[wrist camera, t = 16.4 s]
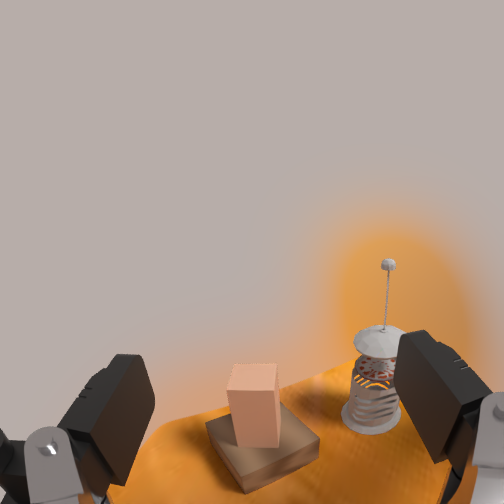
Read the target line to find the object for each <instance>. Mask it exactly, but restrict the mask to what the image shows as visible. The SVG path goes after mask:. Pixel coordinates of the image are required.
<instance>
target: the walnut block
mask: <svg viewBox="0 0 504 504" xmlns="http://www.w3.org/2000/svg"><path fill="white" fill-rule="evenodd" d="M280 414H281V426H280V438H279V448H249V447H238V444H237V440H236V435H235V430H234V426H233V421H232V416H231V413H230V414H228V415H225V416H222V417H219V418H217V419H214V420H211V421H208V422H205V424H206V428H207V431H208V435H209V438H210V442H211V444H212V446H213V447H214V449H215V450H216V452H217V453H218V455H219V457H220V458H221V460H222V461H223V463H224V464H225V466H226V467H227V469H228V470H229V472H230V473H231V475H232V476H233V478H234V479H235V480H236V482H237V483H238V485H239V486H240V488H241V489H242V490H243V492H244V493H245V495H246V494H248V493H250V492H253V491H255V490H257V489H259V488H262V487H264V486H266V485H268V484H270V483H272V482H274V481H276V480H278V479H280V478H282V477H284V476H286V475H288V474H290V473H292V472H294V471H296V470H298V469H300V468H301V467H303V466H305V465H307V464H309V463H310V462H312V461H314V460H316V459H317V458H318V454H319V442H320V438H319V437H318V436H317V435H316V434H315V433H314V432H312V431H311V430H310V429H309V428H308V427H307V426H306V425H305V424H304V423H302V422H301V421H300V420H299V419H298V418H297V417H296V416H295V415H294V414H293V413H292V412H291V411H289V410H288V409H287V408H286V407H285V406H284V405H283V404H282V403H281V402H280Z"/></svg>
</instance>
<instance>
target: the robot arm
mask: <svg viewBox="0 0 504 504" xmlns="http://www.w3.org/2000/svg"><path fill="white" fill-rule="evenodd" d="M393 380H394V387H395V390H396V392H397V394H398V396H399V398H400V400H401V402H402V403H403V405H404V407H405V409H406V411H407V412H408V414H409V416H410V418H411V420H412V422H413V424H414V425H415V427H416V429H417V431H418V433H419V435H420V437H421V439H422V441H423V442H424V444H425V446H426V448H427V450H428V452H429V454H430V456H431V458H432V460H433V462H434V464H436V463H439V462H441V461H444V460H446V459H449V461H450V463H451V465H450V467H449V468H448V471H447V474H446V477H445V481H444V484H443V487H442V490H441V493H440V496H439V498H438V501H437V504H504V392H496V393H493V392H492V391H491V390H490V389H489V388H488V387H487V386H486V384H485V383H484V382H483V381H482V380H481V379H480V378H479V377H478V375H477V374H476V373H475V372H474V371H473V370H472V369H471V368H470V367H468V365H467V364H466V362H465V361H464V360H461V357H460V356H459V355H458V354H457V353H456V352H455V351H454V350H453V349H452V348H451V347H449V346H447V345H445V344H443V343H441V342H436V341H435V340H434V339H433V338H432V337H431V336H430V335H429V333H428V332H426V331H425V330H420V331H415V332H410V333H405V334H402V335H401V337H400V339H399V345H398V351H397V358H396V363H395V369H394V376H393ZM154 407H155V396H154V392H153V389H152V386H151V383H150V380H149V377H148V374H147V370H146V368H145V364H144V361H143V359H142V357H141V356H140V355H128V354H117V355H116V356H115V357H114V358H113V360H112V361H111V362H110V364H109V365H108V367H107V368H103V369H102V370H100V371H99V372H98V373H96V374H95V375H94V376H92V377H91V379H90V380H89V381H88V383H87V384H86V385H85V389H83V390H82V391H81V393H80V394H79V398H76V400H75V401H74V402H73V404H72V405H71V407H70V408H69V410H68V411H67V413H66V414H65V415H64V417H63V418H62V420H61V421H60V423H59V424H58V426H57V427H44V428H41V429H38V430H36V431H35V432H33V433H32V434H31V435H30V436H29V437H28V438H27V440H26V441H16V440H8V438H7V437H6V436H5V434H4V433H3V431H2V430H1V429H0V486H1V487H2V488H3V489H4V490H5V491H6V494H5V496H4V498H3V500H2V502H1V504H114V503H113V500H112V498H111V496H110V494H109V493H108V491H107V490H108V488H109V485H110V483H111V484H115V485H120V486H125V484H126V481H127V478H128V476H129V473H130V470H131V468H132V465H133V463H134V460H135V457H136V455H137V452H138V449H139V447H140V444H141V442H142V439H143V437H144V434H145V431H146V429H147V426H148V424H149V421H150V419H151V416H152V413H153V411H154Z"/></svg>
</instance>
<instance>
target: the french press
mask: <svg viewBox="0 0 504 504" xmlns="http://www.w3.org/2000/svg"><path fill="white" fill-rule="evenodd" d="M381 268H382V269H383V270H388V280H387V296H386V309H385V320H384V325H374V326H372V327H369V328H366V329H364V330H361V331H359V332H358V333H357V334H356V335H355V337H354V341H353V343H354V345H355V347H356V349H357V351H358V352H360V353H361V354H362V356H360V357H359V358H358V359H357V360H356V362H355V367H354V369H353V371H352V380H351V389H350V397H349V400H348V401H347V402H346V404H345V405H344V406H343V408H342V411H341V417H342V420H343V423H344V424H345V425H346V426H347V427H348V428H349V429H351V430H353V431H355V432H358V433H360V434H368V435H376V434H380V433H385V432H387V431H389V430H390V429H392V428H393V427H395V426H396V424H397V423H398V421H399V420H400V418H401V409H400V408H399V406H398V405H399V401H400V398H399V396H398V394H397V392H396V390H395V387H394V380H393V376H394V369H395V363H396V358H397V351H398V345H399V339H400V337H401V335H402V334H405V333H406V332H404V331H402V330H400V329H398V328H396V327H394V326H387V325H385V323H386V314H387V302H388V286H389V270H395V269H396V264H395V261H394V260H393V259H389V258H388V259H384V260H383V261H382V265H381ZM358 374H359V375H360V376H359V377H358V378H356V379H355V380H354V377H355V376H357V375H358ZM362 377H363V378H364V379H363V380H362V381H360V382H359V383H357V381H358V380H360V379H361V378H362ZM367 380H370V381H369V382H367V383H366V384H364V385H362V386H360V384H362V383H363V382H365V381H367ZM385 381H388V382H390V385H388V384H387V383H386V382H385ZM371 383H380V384H383V385H385V386H386V387H387V388H388V390H386V389H385V388H383V387H381V386H378V385H375V386H370V387H368V388H364V387H365V386H367V385H369V384H371ZM355 394H356V395H355Z"/></svg>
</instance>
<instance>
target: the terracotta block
mask: <svg viewBox="0 0 504 504" xmlns="http://www.w3.org/2000/svg"><path fill="white" fill-rule="evenodd" d="M227 396H228V401H229V406H230V411H231V416H232V421H233V426H234V430H235V435H236V440H237V444H238V447H249V448H279V438H280V426H281V414H280V399H279V386H278V372H277V363H270V364H269V363H265V364H234V367H233V370H232V374H231V377H230V380H229V383H228V386H227Z"/></svg>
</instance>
